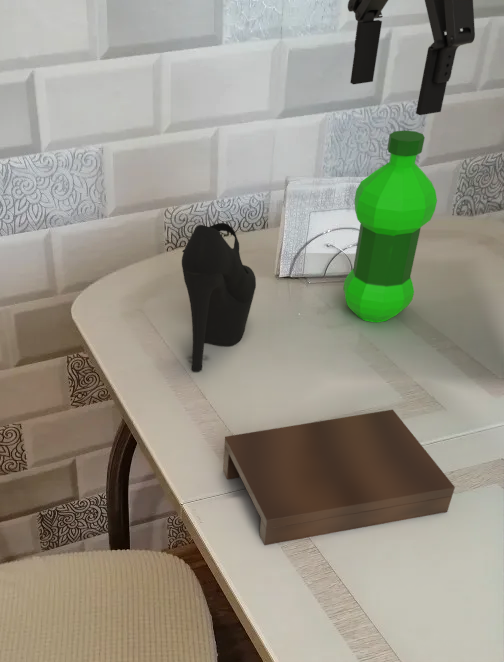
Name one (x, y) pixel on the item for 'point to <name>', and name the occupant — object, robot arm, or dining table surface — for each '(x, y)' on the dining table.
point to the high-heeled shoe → (216, 289)
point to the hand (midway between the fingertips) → (393, 97)
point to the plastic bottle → (389, 231)
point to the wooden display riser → (336, 475)
